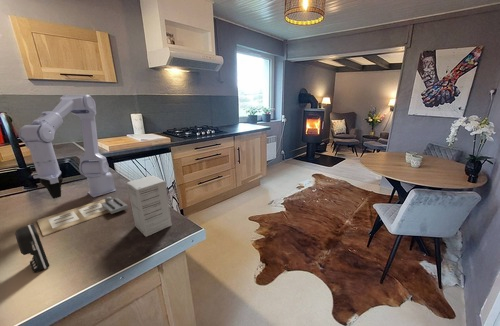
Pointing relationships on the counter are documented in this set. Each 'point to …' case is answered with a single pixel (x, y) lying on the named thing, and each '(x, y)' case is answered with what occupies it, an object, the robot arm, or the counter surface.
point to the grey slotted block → (114, 205)
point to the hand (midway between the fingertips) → (56, 197)
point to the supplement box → (149, 204)
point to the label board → (71, 217)
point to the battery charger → (32, 247)
